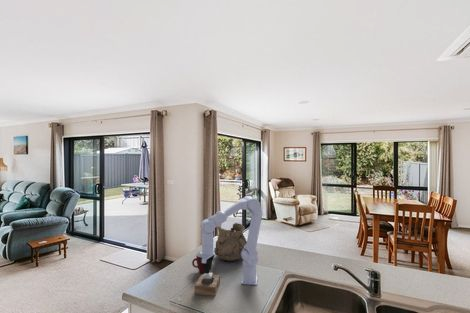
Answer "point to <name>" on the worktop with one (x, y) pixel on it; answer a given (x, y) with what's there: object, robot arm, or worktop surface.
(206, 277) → the plug
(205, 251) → the robot arm
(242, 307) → the worktop surface
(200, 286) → the socket block
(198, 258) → the mug
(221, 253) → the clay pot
